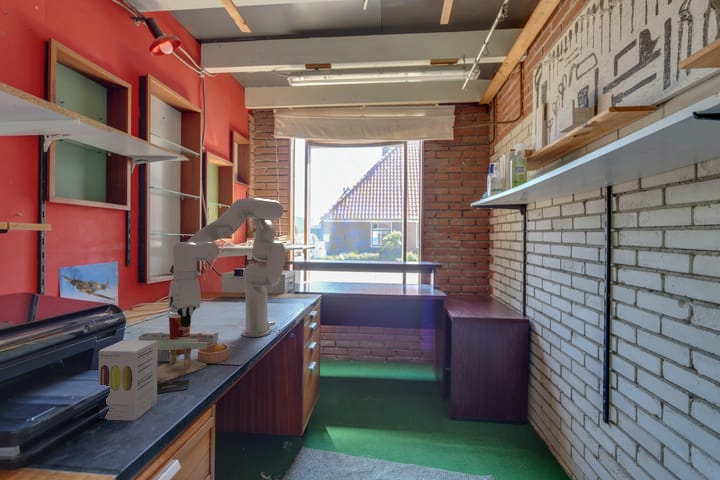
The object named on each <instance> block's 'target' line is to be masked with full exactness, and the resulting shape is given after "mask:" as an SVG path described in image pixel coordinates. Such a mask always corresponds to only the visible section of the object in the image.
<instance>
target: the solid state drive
mask: <svg viewBox="0 0 720 480" xmlns="http://www.w3.org/2000/svg"><path fill="white" fill-rule="evenodd" d="M189 383H190V380H189V379H183V380H175V381H168V382H160V383H157V395H161V394H168V393H176V392H182V391H186V390H189Z"/></svg>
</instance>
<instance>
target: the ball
mask: <svg viewBox="0 0 720 480" xmlns="http://www.w3.org/2000/svg"><path fill="white" fill-rule="evenodd" d="M223 350H225V347H224V346H223V345H217V346H216V347H215V349H214V351H215V352H220V351H223Z"/></svg>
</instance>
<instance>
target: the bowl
mask: <svg viewBox="0 0 720 480" xmlns="http://www.w3.org/2000/svg"><path fill="white" fill-rule="evenodd" d="M217 345H223V346H224V347H225V350H223V351H220V352H215V351H214V349H215V347H216V346H217ZM228 357H229V358H230V346H229V345H228V344H225V343H216V344H211V345H209V344H208V345H207V349H197V361H199V362H202V363H205V364H215V363H220V362H224V361H226V360H227V358H228ZM229 358H228V359H229ZM223 360H224V361H223Z"/></svg>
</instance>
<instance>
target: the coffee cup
mask: <svg viewBox="0 0 720 480" xmlns="http://www.w3.org/2000/svg"><path fill="white" fill-rule="evenodd" d="M167 317H168V323H169V324H168V325H169V327H168V328H169V330H168V331H170V340H174V339H175V337H187V338H189V337H190V331H191V323H192V322H191V323H190V326H189V327H183V326H181V316H180V315H179V314H178V313H172V312H170V311H169V312H168V315H167ZM183 353H184V349H180V350H176V355H178V354H183Z"/></svg>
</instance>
